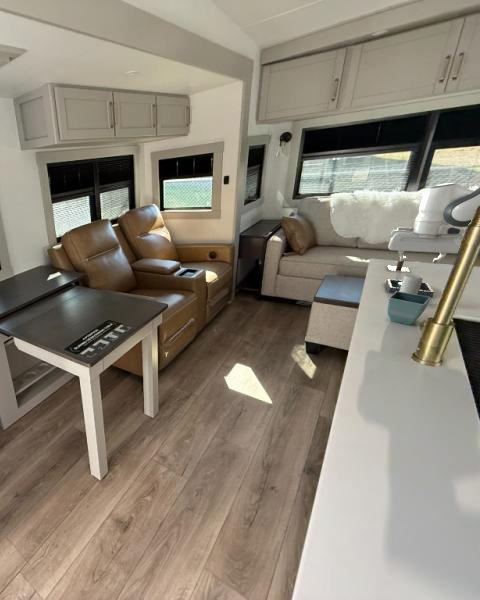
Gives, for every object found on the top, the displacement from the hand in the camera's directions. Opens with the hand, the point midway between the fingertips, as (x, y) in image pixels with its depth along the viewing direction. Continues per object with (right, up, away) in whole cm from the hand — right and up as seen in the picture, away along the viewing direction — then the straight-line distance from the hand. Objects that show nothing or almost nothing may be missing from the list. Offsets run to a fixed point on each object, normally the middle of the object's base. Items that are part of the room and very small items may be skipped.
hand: (418, 262), depth 127 cm
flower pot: (-24, -23, -17) cm, 37 cm away
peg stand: (+18, -1, +26) cm, 32 cm away
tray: (0, -11, +5) cm, 12 cm away
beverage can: (-13, -18, -7) cm, 24 cm away
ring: (0, -11, +4) cm, 12 cm away
